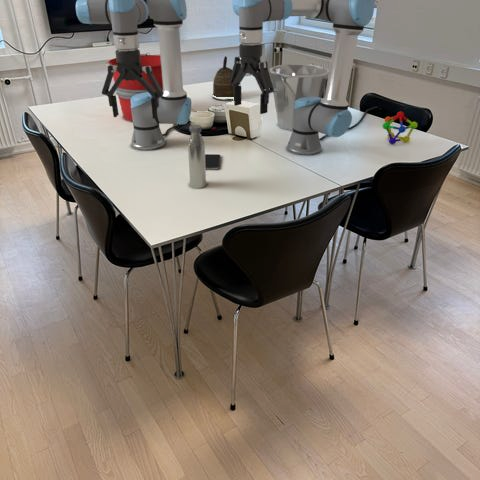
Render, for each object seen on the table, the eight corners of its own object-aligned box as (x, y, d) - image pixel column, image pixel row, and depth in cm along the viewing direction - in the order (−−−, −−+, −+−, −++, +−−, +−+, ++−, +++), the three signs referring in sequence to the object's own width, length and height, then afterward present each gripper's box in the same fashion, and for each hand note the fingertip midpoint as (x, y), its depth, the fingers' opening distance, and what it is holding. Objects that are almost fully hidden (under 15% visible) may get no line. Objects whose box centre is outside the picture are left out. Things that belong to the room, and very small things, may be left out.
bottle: (205, 188, 167) (202, 130, 155) (189, 187, 167) (185, 130, 156) (207, 181, 172) (204, 125, 161) (191, 181, 173) (188, 124, 161)
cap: (200, 133, 157) (200, 128, 156) (188, 132, 157) (188, 128, 156) (202, 129, 160) (202, 124, 160) (190, 129, 161) (190, 124, 160)
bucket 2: (296, 138, 215) (301, 78, 201) (255, 124, 234) (256, 68, 219) (335, 125, 232) (342, 70, 217) (294, 113, 251) (297, 61, 236)
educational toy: (377, 146, 209) (379, 114, 202) (384, 138, 219) (386, 107, 211) (411, 149, 202) (415, 116, 195) (417, 141, 212) (420, 109, 204)
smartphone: (201, 167, 182) (204, 154, 195) (201, 169, 182) (204, 155, 195) (218, 167, 182) (220, 154, 195) (218, 169, 182) (220, 155, 195)
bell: (227, 105, 294) (202, 96, 282) (238, 66, 289) (213, 55, 277) (243, 108, 280) (217, 98, 268) (255, 66, 275) (229, 55, 263)
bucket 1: (122, 106, 262) (115, 52, 246) (181, 107, 261) (178, 52, 245) (105, 124, 232) (96, 64, 216) (172, 125, 231) (167, 64, 216)
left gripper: (84, 50, 136) (95, 118, 148) (163, 52, 134) (168, 121, 145) (93, 46, 143) (104, 112, 154) (169, 48, 140) (174, 114, 152)
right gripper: (217, 40, 150) (219, 103, 161) (269, 49, 134) (267, 119, 145) (234, 38, 154) (235, 99, 165) (286, 46, 138) (283, 114, 149)
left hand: (135, 116), depth 150 cm, fingers open, 13 cm apart
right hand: (250, 109), depth 155 cm, fingers open, 13 cm apart
